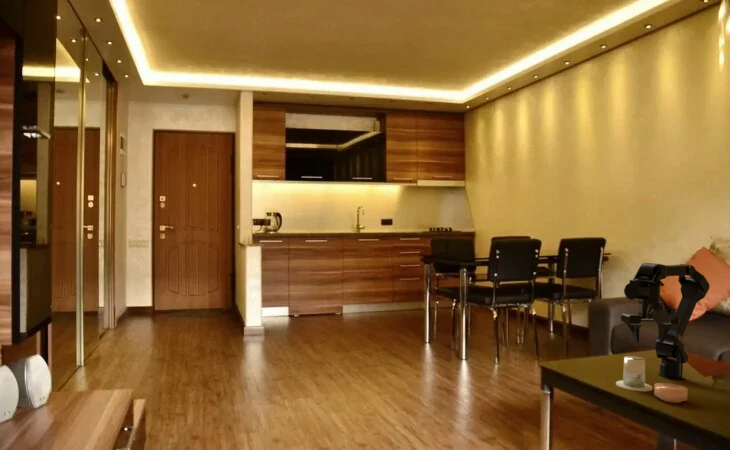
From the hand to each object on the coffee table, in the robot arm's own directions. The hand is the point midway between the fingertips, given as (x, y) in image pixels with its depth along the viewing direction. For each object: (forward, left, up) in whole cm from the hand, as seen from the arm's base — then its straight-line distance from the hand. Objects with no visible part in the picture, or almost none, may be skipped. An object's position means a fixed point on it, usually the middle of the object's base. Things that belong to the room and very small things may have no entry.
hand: (649, 343), depth 193 cm
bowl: (+7, +21, -13) cm, 26 cm away
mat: (+10, +7, -13) cm, 18 cm away
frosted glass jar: (+10, +7, -13) cm, 17 cm away
